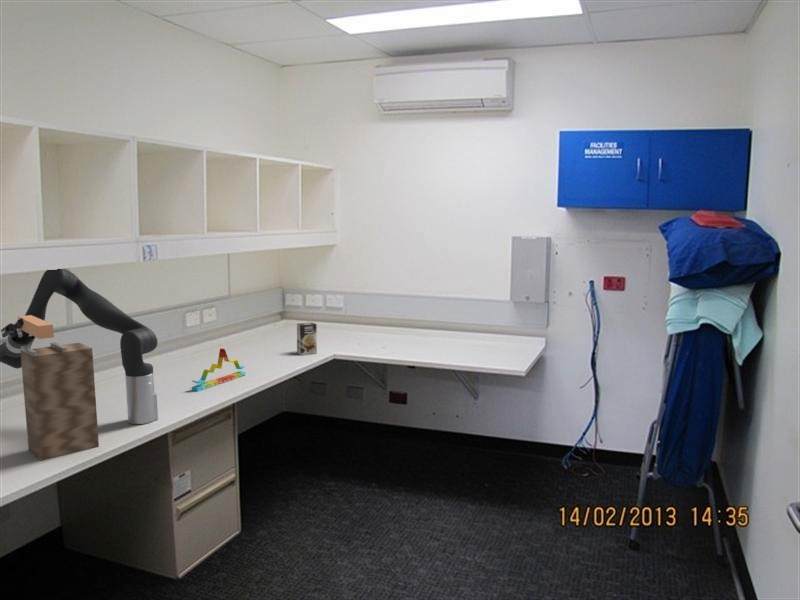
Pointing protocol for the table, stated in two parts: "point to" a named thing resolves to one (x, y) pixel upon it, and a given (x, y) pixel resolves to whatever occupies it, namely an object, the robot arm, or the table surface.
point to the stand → (59, 399)
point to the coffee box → (306, 338)
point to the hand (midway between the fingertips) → (30, 320)
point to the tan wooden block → (37, 327)
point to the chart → (223, 379)
